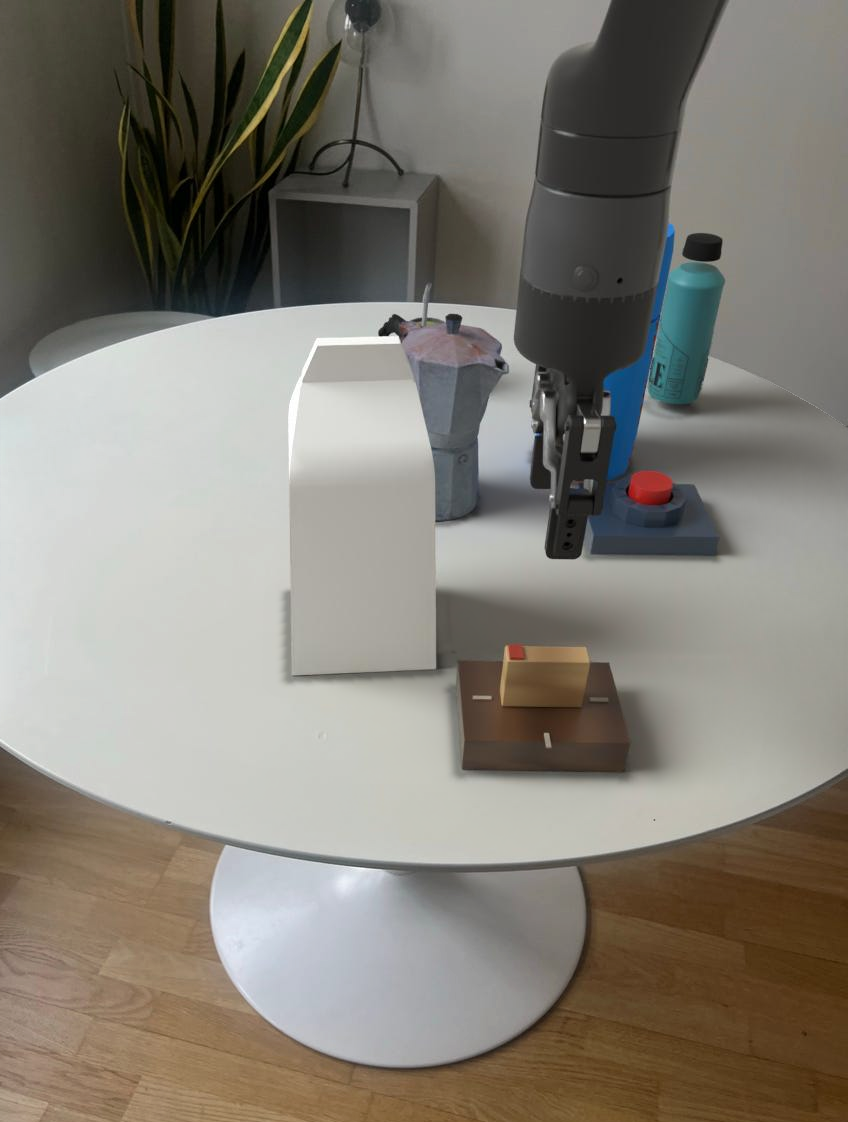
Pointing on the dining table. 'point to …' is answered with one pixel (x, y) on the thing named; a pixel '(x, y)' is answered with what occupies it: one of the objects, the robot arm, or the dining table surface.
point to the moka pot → (451, 400)
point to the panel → (539, 725)
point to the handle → (544, 676)
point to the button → (650, 488)
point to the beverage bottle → (687, 323)
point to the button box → (651, 524)
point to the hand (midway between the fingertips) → (553, 519)
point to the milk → (360, 512)
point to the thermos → (634, 380)
